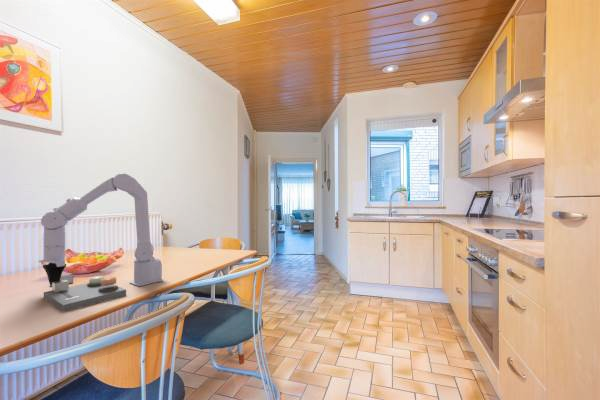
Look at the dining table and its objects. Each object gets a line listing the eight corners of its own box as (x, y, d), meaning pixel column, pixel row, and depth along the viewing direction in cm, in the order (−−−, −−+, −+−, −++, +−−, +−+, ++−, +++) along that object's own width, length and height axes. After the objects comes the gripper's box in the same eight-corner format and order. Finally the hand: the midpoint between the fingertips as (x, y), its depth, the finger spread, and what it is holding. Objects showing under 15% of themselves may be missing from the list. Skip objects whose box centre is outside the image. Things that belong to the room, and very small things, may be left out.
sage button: (101, 280, 103) (101, 275, 103) (106, 282, 100) (106, 277, 100) (87, 283, 99) (87, 278, 99) (92, 285, 96) (92, 280, 96)
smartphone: (49, 286, 103) (52, 277, 114) (49, 288, 103) (52, 279, 114) (73, 282, 107) (73, 274, 119) (73, 284, 107) (73, 276, 119)
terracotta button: (112, 281, 97) (112, 276, 97) (118, 283, 94) (118, 278, 94) (98, 284, 93) (98, 279, 93) (103, 286, 91) (103, 281, 91)
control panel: (102, 285, 105) (102, 278, 105) (126, 295, 94) (126, 287, 94) (43, 298, 91) (43, 290, 91) (63, 311, 80) (63, 303, 80)
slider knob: (65, 288, 94) (65, 279, 94) (68, 289, 93) (68, 281, 93) (52, 291, 91) (52, 282, 91) (54, 292, 90) (54, 283, 90)
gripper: (33, 245, 97) (33, 283, 97) (45, 249, 88) (45, 291, 88) (59, 243, 102) (59, 278, 102) (72, 246, 94) (72, 285, 94)
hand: (54, 284), depth 96 cm, fingers closed
